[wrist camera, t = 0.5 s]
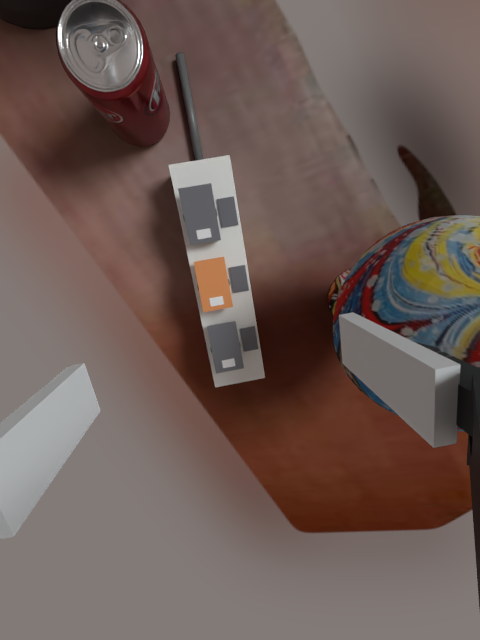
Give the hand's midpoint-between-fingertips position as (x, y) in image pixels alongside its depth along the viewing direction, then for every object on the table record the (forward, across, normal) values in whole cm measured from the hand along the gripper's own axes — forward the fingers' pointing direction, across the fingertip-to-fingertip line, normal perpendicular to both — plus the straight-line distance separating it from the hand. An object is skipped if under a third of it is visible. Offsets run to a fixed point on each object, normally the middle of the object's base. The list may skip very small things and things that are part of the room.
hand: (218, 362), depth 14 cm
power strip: (+26, +1, +7) cm, 27 cm away
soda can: (+27, -5, +22) cm, 35 cm away
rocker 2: (+20, 0, -7) cm, 21 cm away
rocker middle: (+20, 0, +1) cm, 21 cm away
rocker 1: (+21, 0, +9) cm, 23 cm away
